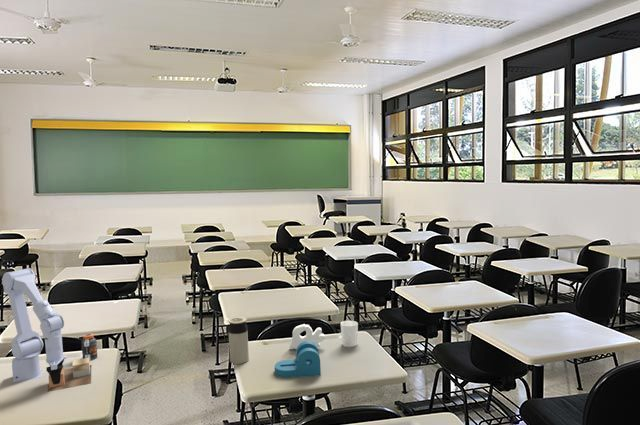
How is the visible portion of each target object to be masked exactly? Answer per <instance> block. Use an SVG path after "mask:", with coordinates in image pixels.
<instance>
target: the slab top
mask: <svg viewBox="0 0 640 425" xmlns="http://www.w3.org/2000/svg"><path fill="white" fill-rule="evenodd" d="M90 363H91V362H90V361H89V358H84V359H83V358H80V359H78V358H77V359H75V360H72V368H73V372H75V371H80V370H85V369H89V367H90V365H91V364H90Z"/></svg>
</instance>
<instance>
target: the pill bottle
mask: <svg viewBox="0 0 640 425" xmlns="http://www.w3.org/2000/svg"><path fill="white" fill-rule="evenodd" d="M82 336H83V339H82V341H81V354H82V359H84V358H89V362H90V361H94V360H96V359H98V346H97V343H98V342H97V338H95V337H94V333H86V334H85V333H84V335H82Z"/></svg>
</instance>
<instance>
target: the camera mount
mask: <svg viewBox="0 0 640 425" xmlns="http://www.w3.org/2000/svg"><path fill="white" fill-rule="evenodd" d="M295 353H296V355H295V358H293V359H284V360H280V361H277V362H276V363H275V364H274V374H275V376H277V377H280V378H284V379H285V378H286V379H287V378H288V379H290V378H302V377H304V378H305V377H317V376H321V374H322V372H321V358H320V354H319V349H318V348H317V346H316V345H315V344H314V343H313V342H311V341H304V342H302V343H300V344H299V345H298V347H297V349H295Z"/></svg>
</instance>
